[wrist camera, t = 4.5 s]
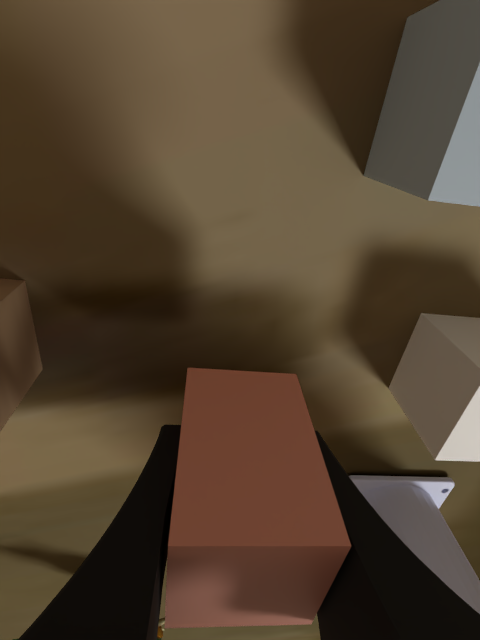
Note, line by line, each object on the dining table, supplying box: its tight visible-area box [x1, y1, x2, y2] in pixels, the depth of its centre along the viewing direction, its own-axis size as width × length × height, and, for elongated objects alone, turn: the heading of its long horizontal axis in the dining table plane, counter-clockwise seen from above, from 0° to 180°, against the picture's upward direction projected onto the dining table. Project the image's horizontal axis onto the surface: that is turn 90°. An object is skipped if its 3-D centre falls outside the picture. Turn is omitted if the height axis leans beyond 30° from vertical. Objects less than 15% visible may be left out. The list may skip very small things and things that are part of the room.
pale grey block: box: [389, 313, 480, 461], centre depth 17 cm, size 5×5×5 cm
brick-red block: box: [165, 368, 351, 628], centre depth 11 cm, size 4×4×6 cm
